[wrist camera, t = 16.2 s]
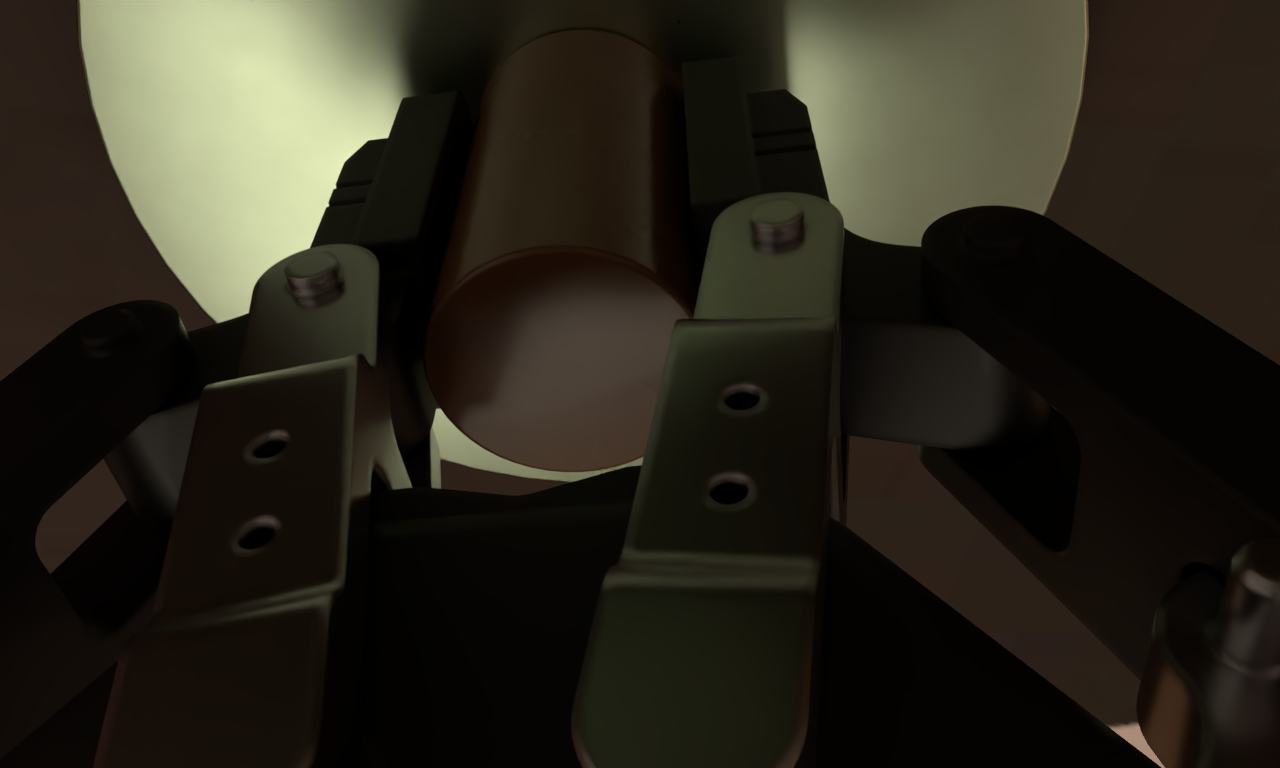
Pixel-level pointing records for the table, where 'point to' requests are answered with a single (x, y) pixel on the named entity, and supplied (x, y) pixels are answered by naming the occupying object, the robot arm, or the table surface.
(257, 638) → the robot arm
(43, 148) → the table surface
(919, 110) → the lid
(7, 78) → the table surface
